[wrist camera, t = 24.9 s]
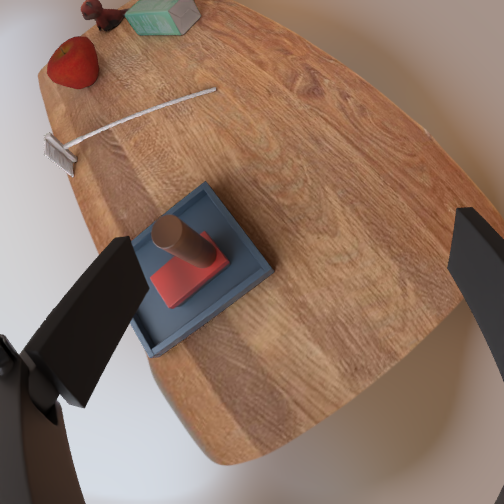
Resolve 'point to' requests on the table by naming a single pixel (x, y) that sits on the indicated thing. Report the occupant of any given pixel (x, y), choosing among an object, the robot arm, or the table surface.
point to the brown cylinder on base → (185, 260)
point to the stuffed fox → (102, 14)
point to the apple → (74, 63)
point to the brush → (67, 158)
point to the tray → (213, 294)
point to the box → (162, 16)
